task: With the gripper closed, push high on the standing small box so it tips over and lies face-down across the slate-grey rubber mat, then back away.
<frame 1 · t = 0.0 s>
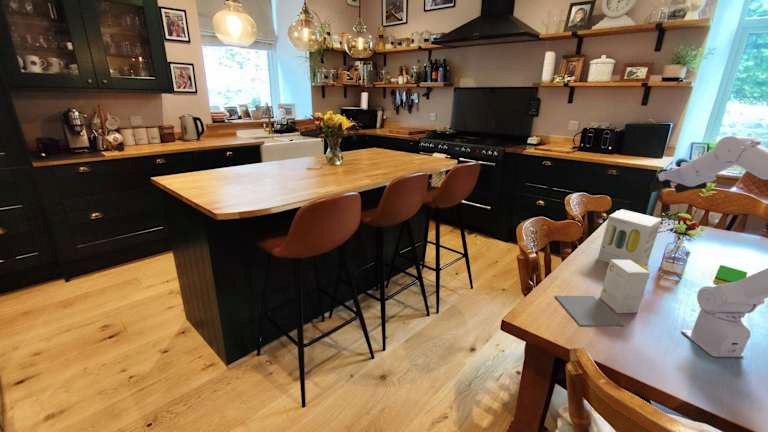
hand: (663, 189, 106), 32 cm above the table, tool tilted 50°, fingers open, 7 cm apart
lemon: (634, 286, 116), on the table
dish sponge: (728, 281, 123), on the table
supplement box: (622, 261, 133), on the table
small box: (617, 305, 105), on the table
slate rubber mat: (587, 310, 102), on the table
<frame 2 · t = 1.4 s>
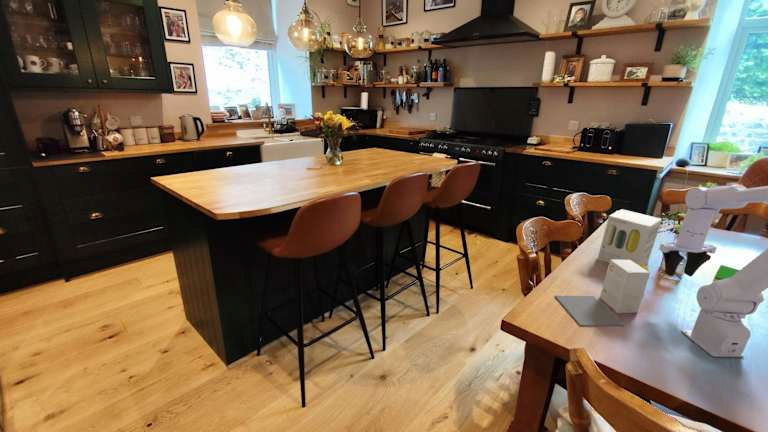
hand: (678, 274, 102), 10 cm above the table, tool pointing down, fingers open, 5 cm apart
nothing on the table moved.
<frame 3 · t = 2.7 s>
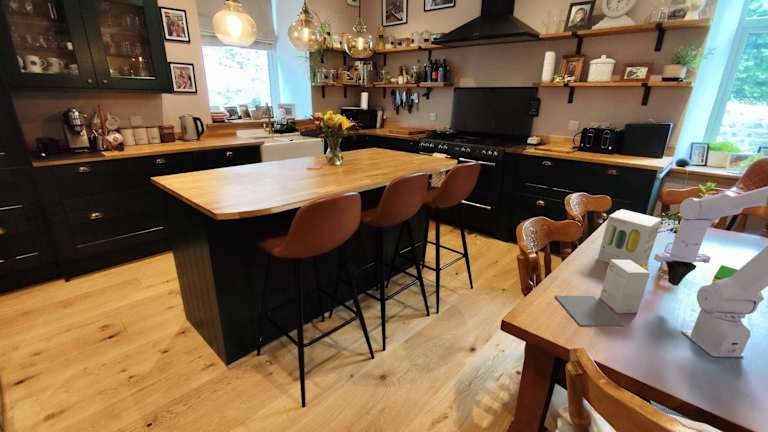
hand: (672, 283, 103), 7 cm above the table, tool pointing down, fingers closed
nothing on the table moved.
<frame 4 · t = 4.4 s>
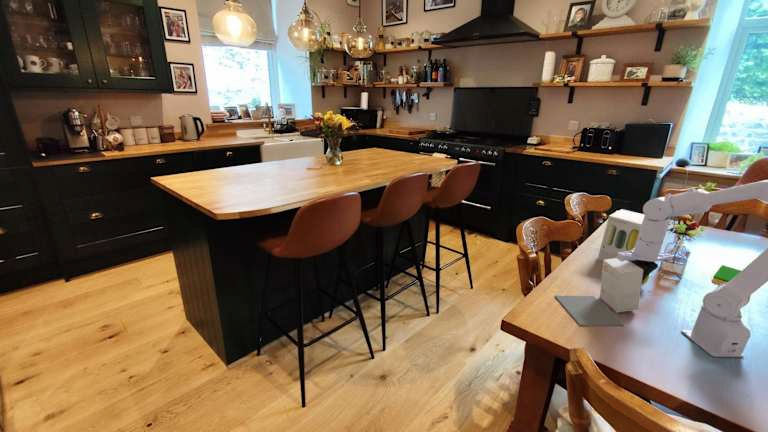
hand: (636, 282, 103), 7 cm above the table, tool pointing down, fingers closed
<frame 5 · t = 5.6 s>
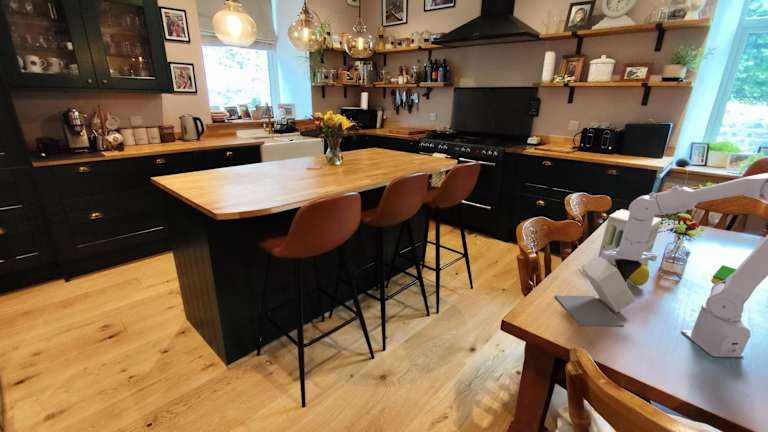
hand: (620, 281, 103), 8 cm above the table, tool pointing down, fingers closed
small box: (617, 299, 104), point 2 cm above the table, touching gripper
everything else where it was.
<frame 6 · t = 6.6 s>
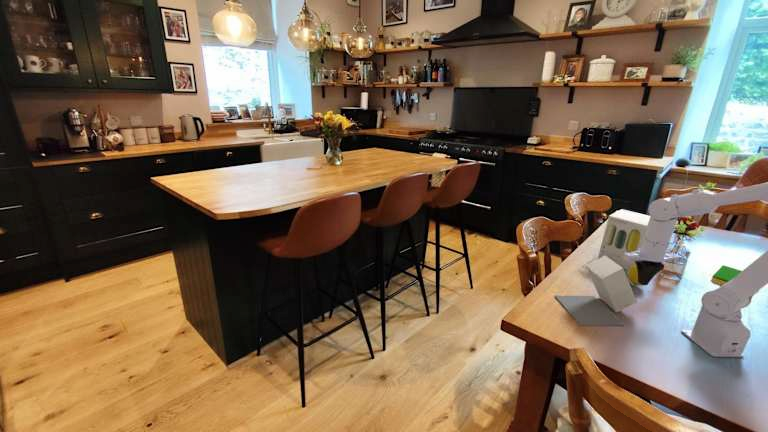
hand: (642, 283, 103), 7 cm above the table, tool pointing down, fingers closed
small box: (618, 300, 105), point 2 cm above the table
everything else where it was.
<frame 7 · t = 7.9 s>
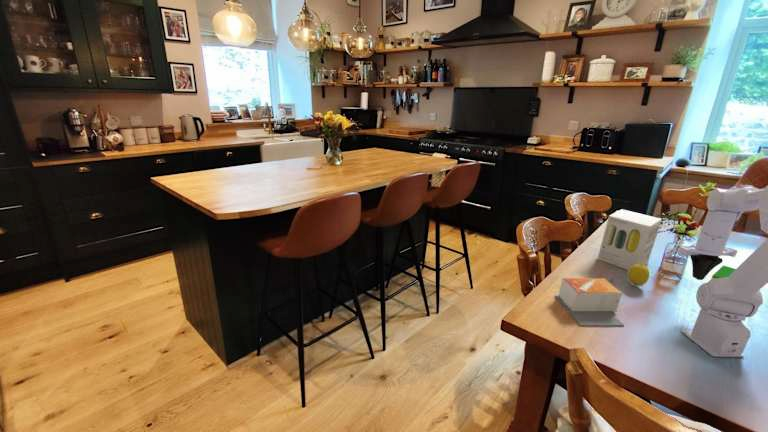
hand: (697, 278, 101), 10 cm above the table, tool pointing down, fingers closed
small box: (611, 294, 104), point 4 cm above the table, touching slate rubber mat
everything else where it was.
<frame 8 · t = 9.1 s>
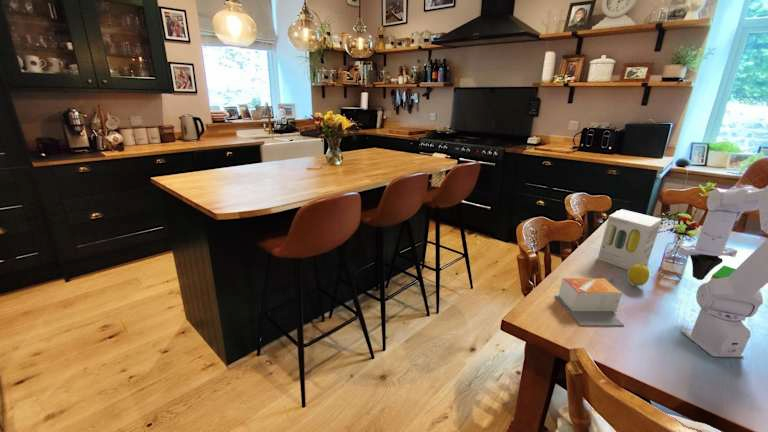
hand: (697, 278, 101), 10 cm above the table, tool pointing down, fingers closed
nothing on the table moved.
at the end: small box tilted 90°; small box touching slate rubber mat; small box inside the target area (6.0 cm from its centre), point 3.6 cm above the table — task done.
